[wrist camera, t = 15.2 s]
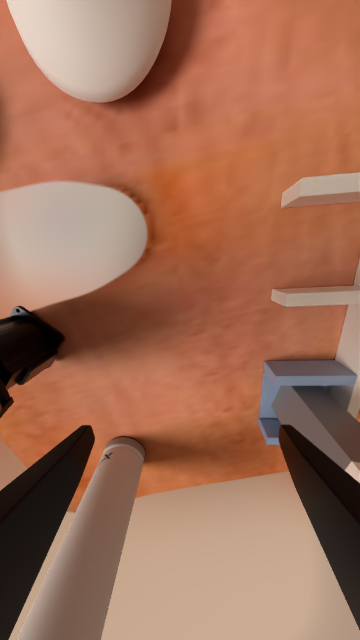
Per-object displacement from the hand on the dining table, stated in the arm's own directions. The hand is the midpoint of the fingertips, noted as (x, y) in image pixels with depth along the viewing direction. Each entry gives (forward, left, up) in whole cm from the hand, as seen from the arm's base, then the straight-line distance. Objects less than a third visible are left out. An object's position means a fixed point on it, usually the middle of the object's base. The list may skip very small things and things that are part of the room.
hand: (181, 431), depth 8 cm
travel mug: (+6, -22, -13) cm, 26 cm away
